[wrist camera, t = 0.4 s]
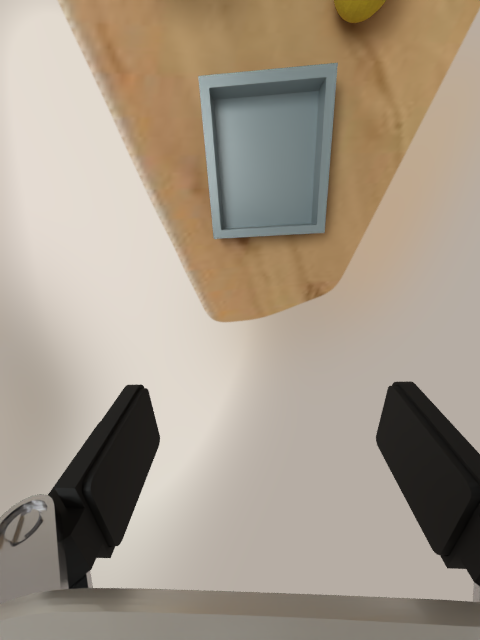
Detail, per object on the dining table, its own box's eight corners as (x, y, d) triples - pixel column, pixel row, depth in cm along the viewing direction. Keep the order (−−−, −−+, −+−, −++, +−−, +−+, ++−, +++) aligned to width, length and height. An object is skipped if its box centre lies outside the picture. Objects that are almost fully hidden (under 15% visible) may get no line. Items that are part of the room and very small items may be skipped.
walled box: (205, 92, 29) (198, 76, 26) (326, 81, 28) (337, 62, 25) (217, 235, 36) (213, 238, 32) (316, 230, 35) (324, 232, 31)
